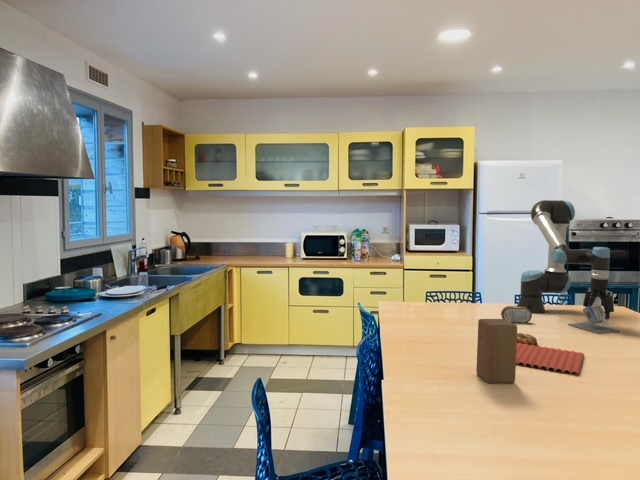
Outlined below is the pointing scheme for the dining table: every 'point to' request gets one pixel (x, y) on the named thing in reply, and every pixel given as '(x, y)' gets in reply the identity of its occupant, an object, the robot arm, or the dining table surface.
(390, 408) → the dining table surface
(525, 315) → the tin
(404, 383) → the dining table surface
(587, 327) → the slate mat
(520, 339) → the pretzel
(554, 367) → the corrugated roof tile
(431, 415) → the dining table surface
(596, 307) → the medicine box
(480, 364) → the wooden block
